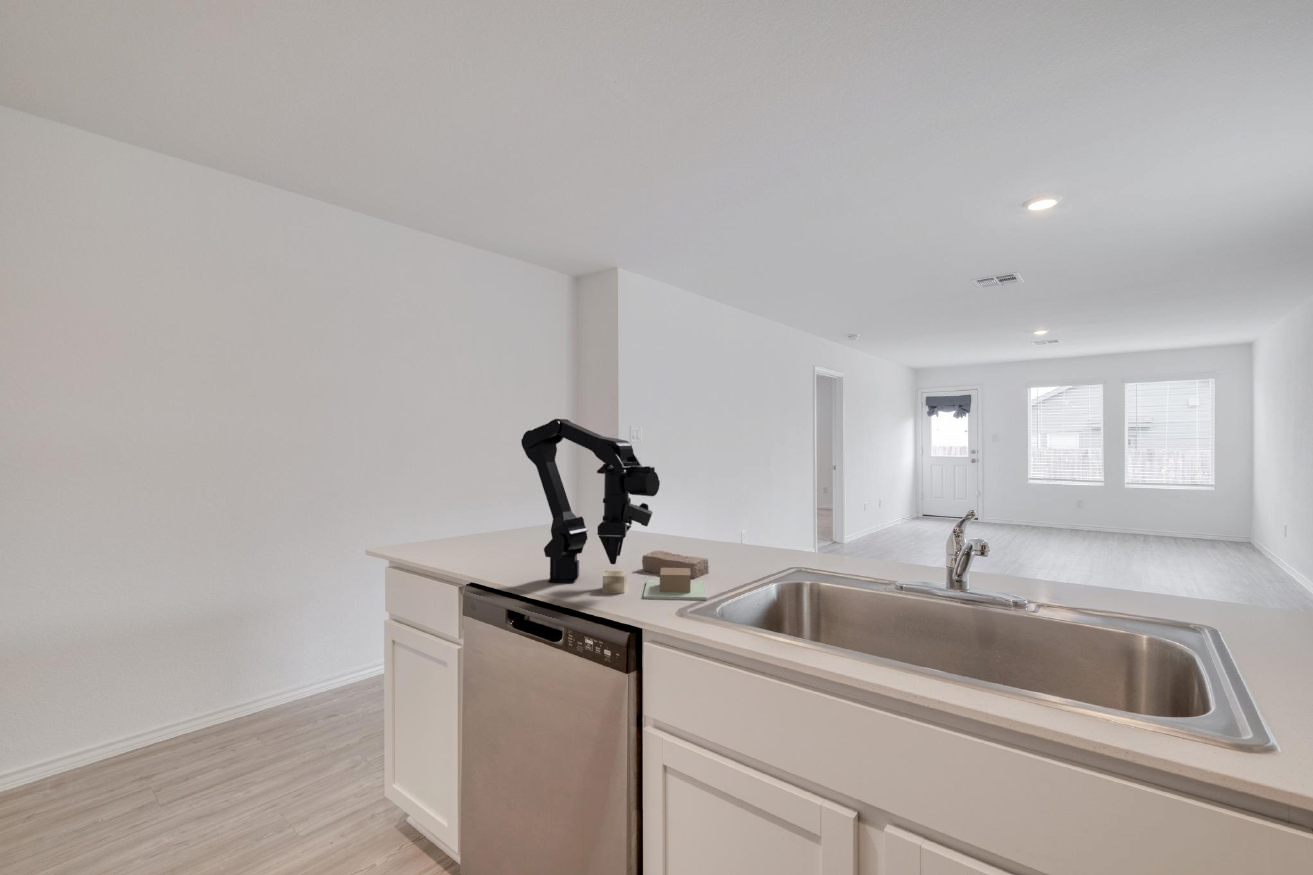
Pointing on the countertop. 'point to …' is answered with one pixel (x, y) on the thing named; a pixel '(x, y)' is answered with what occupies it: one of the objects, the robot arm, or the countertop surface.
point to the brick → (675, 563)
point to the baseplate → (665, 595)
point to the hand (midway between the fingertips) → (615, 559)
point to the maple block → (614, 582)
